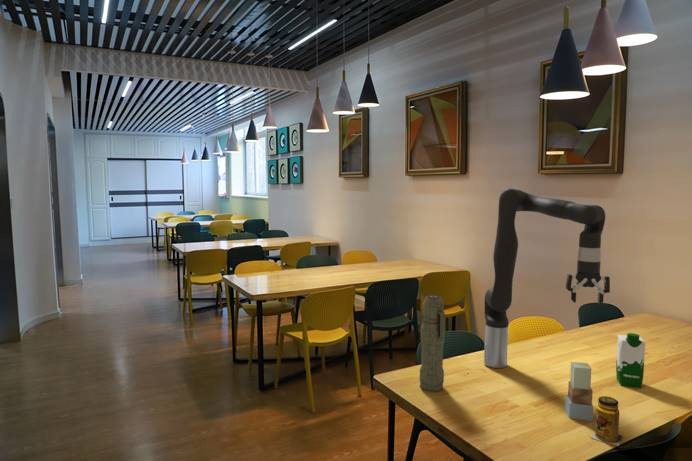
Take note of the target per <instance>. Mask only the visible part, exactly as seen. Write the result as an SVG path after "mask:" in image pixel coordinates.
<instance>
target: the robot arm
mask: <svg viewBox="0 0 692 461" xmlns="http://www.w3.org/2000/svg"><path fill="white" fill-rule="evenodd" d="M497 212H498V214H497V216H498V218H497V228H496V235H495V242H494V247H493V248H494V249H493V254H492V255H493V256H492V257H493V269H494V282H493V286H491V287H490V288H488V290H486V292H485V294H484V319H485V330H484V331H485V332H484V335H485V336H484V349H483V350H484V351H483V356H484V357H483V363H484V366H487V367H489V368H493V369H503V368H504V369H505V368H507V366H508V345H509V344H508V342H509V340H508V339H509V318H508V316H507V311H508V310H509V308H510V307H511V304H512V302H513V301H512V299H513V281H514V280H513V279H514V275H515V267H516V262H517V258H518V257H517V255H518V250H519V249H518V248H519V239H518V236H517V232H516V226H515V225H516V224H515V223H516V222H515V221H516V214H517V213H518V212H530V213H531V212H532V213H538V214H539V213H540V214H541V215H542V214H543V215H546V216H548V217H553V218H558V219H562V220H566V221H567V220H569V221H571V222H574V223H578V224H582V225H584V227H583V230H582V231H581V232H580V233H579V239H578V240H579V241H578V250H577V256H576V257H577V265H576V274H570V273H567V275H566V284H565V289H566V290H567V291H569V292H570V300H571V302H573V303H577V291H578V290H579V289H581V288H582V287H583V288H595V289H596V290H597V292H598V293H597V304H598V305H602V303H604V296H605V294H610V291H611V286H610V285H611V281H610V280H611V279H610V276H608V275H603V276H602V275H601V262H602V261H601V257H602V252H601V251H602V250H601V245H602V244H601V243H602V234H603V231H604V227H605V222H606V211H605V209H604V208H603V207H602V206H600V205H598V204H581V203H576V202H575V201H574V202H573V201H570V200H564V199H559V198H551V197H550V198H549V197H548V198H547V197H542V196H541V197H540V196H537V195H535V194H530V193H528V192H526V191H523V190H521V189H516V188H506V189H504V190H503V191H502V192H501V193H500V196H499V199H498V211H497ZM574 280H576V281H577V282H575V283H574V285H573V286H572V282H573V281H574ZM600 281H602V282H603V288H602V287H601V285H600V284H599V282H600Z"/></svg>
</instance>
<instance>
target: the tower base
mask: <svg viewBox="0 0 692 461" xmlns="http://www.w3.org/2000/svg"><path fill="white" fill-rule="evenodd" d="M564 410H565V412H566V414H567V416H568V419H574V420H580V421H590V422H594V421H593V420H594V405H593V404H592V405H584V404H575V403H571V401H570V399H569V397H568V394H565V395H564Z"/></svg>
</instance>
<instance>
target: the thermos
mask: <svg viewBox="0 0 692 461" xmlns="http://www.w3.org/2000/svg"><path fill="white" fill-rule="evenodd" d="M444 307H445V306H444V300H443V297H441V296H440V295H437V294H428V295H425V297H424V299H423V303H422V307H421V314H420V320H421V322H420V324H421V325H420V343H421V364H420V365H421V366H420V367H419V388H420V389H421V390H422V391H424V392H428V393H439V392H442V391H443V390H444V381H445V380H444V378H445V371H444V368H443V364H444V363H443V362H444V360H443V359H444V345H445V340H446V338H445V337H446V333H445V332H446V317H447V316H446V312H445V311H444V310H445V308H444Z"/></svg>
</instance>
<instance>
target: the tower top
mask: <svg viewBox="0 0 692 461" xmlns="http://www.w3.org/2000/svg"><path fill="white" fill-rule="evenodd" d="M567 389H568V390H567V391H568V392H567V395H568V397H569V399H570V401H571V403H575V404H584V405H593V392H594V391H593V389H592V387H591V388H590V390H588V389H578V388H573V386H572V384H571V382H570V380H569V381H568V388H567Z"/></svg>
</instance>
